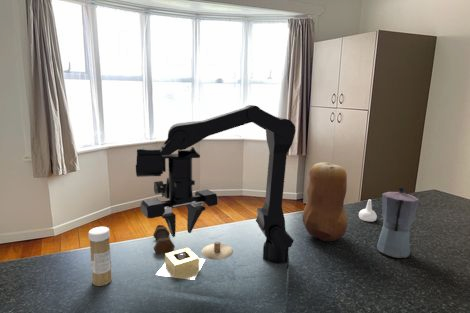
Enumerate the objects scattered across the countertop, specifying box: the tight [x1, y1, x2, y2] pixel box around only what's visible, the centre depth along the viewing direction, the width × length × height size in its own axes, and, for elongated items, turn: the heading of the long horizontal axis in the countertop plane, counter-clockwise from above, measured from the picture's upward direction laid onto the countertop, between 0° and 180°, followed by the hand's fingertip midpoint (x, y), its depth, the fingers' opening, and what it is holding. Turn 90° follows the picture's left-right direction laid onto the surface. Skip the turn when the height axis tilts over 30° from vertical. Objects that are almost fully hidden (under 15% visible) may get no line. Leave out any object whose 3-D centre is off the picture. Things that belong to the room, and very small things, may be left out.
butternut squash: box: [302, 161, 348, 243], centre depth 98 cm, size 14×13×25 cm
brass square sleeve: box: [164, 247, 200, 276], centre depth 80 cm, size 7×7×3 cm
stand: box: [201, 241, 234, 260], centre depth 89 cm, size 9×9×4 cm
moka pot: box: [376, 186, 420, 259], centre depth 90 cm, size 10×15×20 cm, turn 155°
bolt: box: [153, 224, 176, 255], centre depth 94 cm, size 6×5×15 cm
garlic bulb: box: [358, 199, 378, 223], centre depth 117 cm, size 6×6×8 cm
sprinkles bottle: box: [88, 226, 113, 287], centre depth 74 cm, size 5×5×14 cm
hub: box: [155, 252, 206, 281], centre depth 80 cm, size 10×10×4 cm
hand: (181, 234), depth 79 cm, fingers open, 4 cm apart
